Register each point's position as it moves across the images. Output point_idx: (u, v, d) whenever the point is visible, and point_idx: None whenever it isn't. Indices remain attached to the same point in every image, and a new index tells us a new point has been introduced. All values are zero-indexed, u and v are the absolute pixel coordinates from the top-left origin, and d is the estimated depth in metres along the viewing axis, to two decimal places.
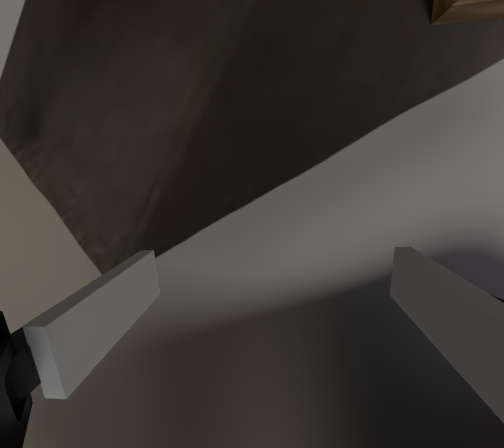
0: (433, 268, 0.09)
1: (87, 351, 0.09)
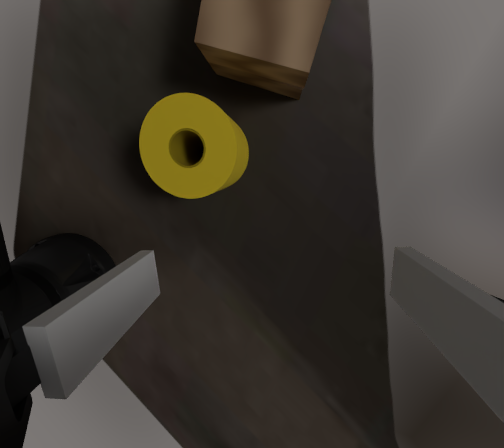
0: (433, 268, 0.09)
1: (87, 351, 0.09)
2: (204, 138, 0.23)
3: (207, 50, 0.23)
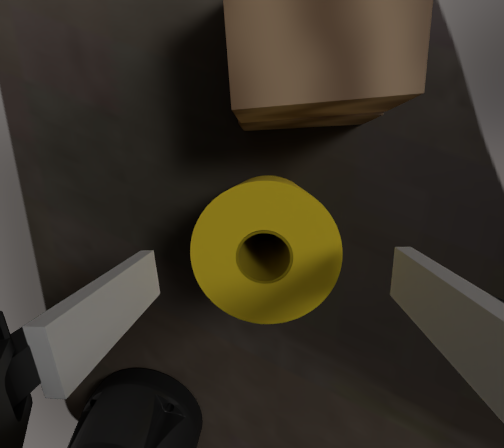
0: (433, 268, 0.09)
1: (87, 351, 0.09)
2: (286, 236, 0.15)
3: (248, 113, 0.16)
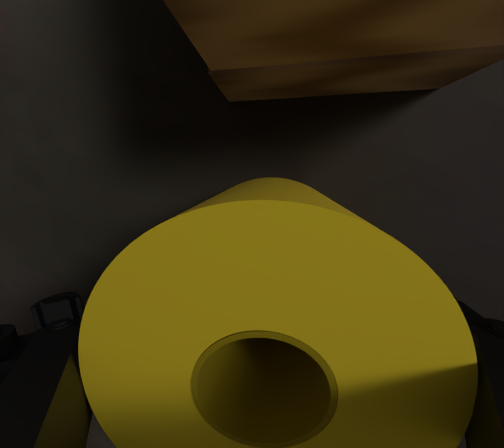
0: None
1: None
2: (321, 348, 0.06)
3: (212, 21, 0.06)
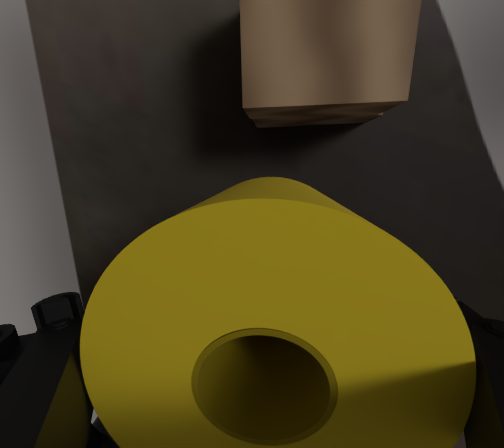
0: None
1: None
2: (321, 345, 0.06)
3: (256, 111, 0.18)
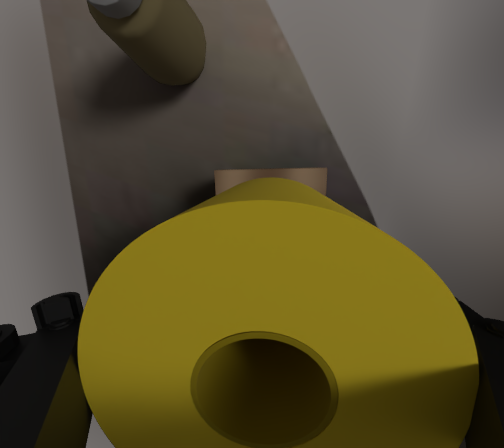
0: None
1: None
2: (322, 349, 0.06)
3: None
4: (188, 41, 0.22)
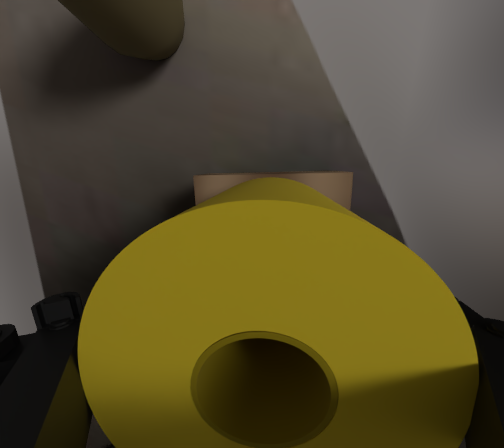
0: None
1: None
2: (322, 349, 0.06)
3: None
4: None
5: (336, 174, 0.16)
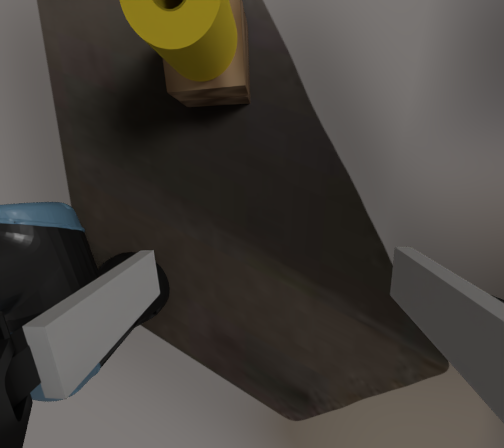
0: (433, 268, 0.09)
1: (87, 351, 0.09)
2: None
3: (177, 94, 0.34)
4: None
5: None
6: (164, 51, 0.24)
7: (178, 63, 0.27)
